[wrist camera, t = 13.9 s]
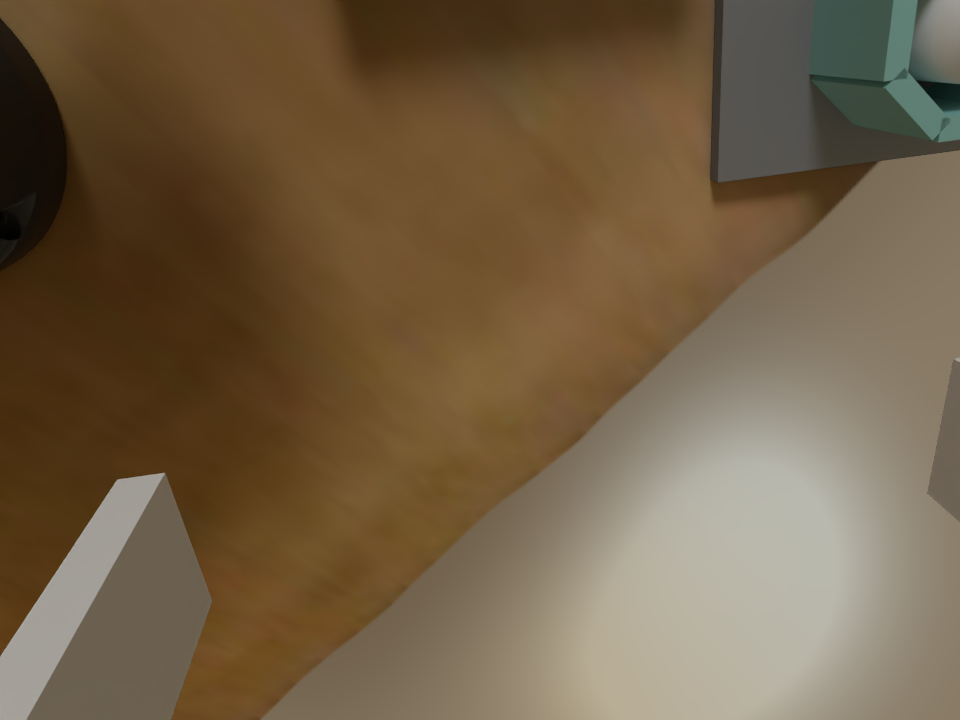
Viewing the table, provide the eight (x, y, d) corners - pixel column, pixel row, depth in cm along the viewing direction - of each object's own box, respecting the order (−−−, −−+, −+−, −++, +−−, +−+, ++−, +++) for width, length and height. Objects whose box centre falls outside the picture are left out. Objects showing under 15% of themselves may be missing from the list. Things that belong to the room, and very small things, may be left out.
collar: (804, 133, 36) (874, 151, 30) (820, -73, 32) (905, -96, 26) (975, 110, 36) (1076, 123, 30) (1012, -97, 32) (1135, -124, 27)
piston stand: (710, 178, 37) (766, 206, 31) (718, -112, 32) (788, -146, 26) (1037, 135, 38) (1153, 153, 32) (1102, -159, 32) (1257, -202, 26)
